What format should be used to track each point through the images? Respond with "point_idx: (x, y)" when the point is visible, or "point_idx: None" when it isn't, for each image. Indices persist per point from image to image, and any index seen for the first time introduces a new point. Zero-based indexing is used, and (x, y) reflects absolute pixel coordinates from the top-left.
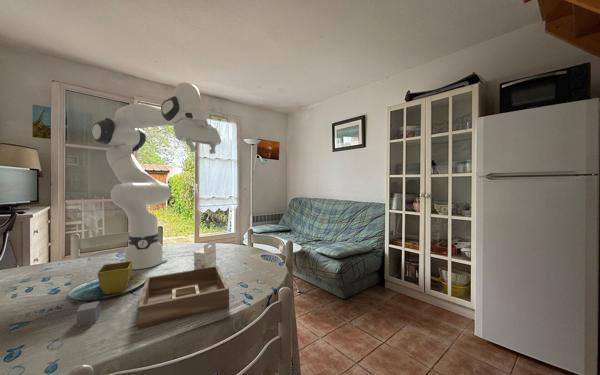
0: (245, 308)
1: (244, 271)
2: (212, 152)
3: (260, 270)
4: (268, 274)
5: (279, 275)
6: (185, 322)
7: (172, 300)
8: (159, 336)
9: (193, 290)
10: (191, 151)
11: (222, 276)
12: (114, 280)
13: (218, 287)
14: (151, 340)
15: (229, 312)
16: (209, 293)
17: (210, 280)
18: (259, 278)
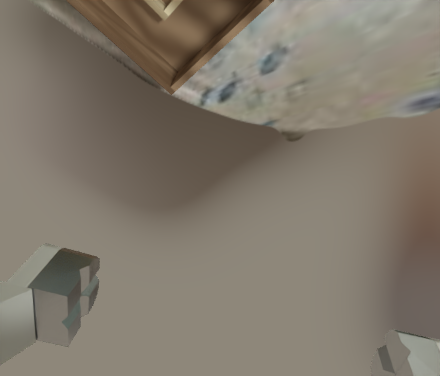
0: (188, 102)
1: (358, 24)
2: (373, 362)
3: (369, 66)
4: (341, 94)
5: (338, 118)
6: None
7: (89, 20)
8: (71, 17)
9: None
10: (44, 245)
11: (215, 52)
12: None
13: (230, 20)
14: (59, 12)
15: None
16: (143, 69)
17: None
18: (314, 82)
